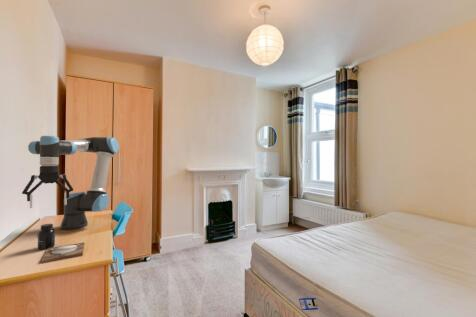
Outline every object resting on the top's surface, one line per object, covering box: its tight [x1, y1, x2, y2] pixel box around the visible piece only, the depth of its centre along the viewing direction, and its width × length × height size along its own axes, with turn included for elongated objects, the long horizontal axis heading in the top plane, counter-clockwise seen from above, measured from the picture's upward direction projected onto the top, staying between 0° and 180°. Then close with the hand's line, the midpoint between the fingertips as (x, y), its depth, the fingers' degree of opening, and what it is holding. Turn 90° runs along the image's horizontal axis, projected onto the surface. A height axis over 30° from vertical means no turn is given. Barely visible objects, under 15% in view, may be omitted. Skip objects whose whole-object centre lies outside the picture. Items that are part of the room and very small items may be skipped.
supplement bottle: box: [37, 223, 56, 251], centre depth 115 cm, size 7×7×12 cm
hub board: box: [40, 242, 85, 264], centre depth 109 cm, size 16×15×2 cm
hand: (49, 206), depth 115 cm, fingers open, 13 cm apart
